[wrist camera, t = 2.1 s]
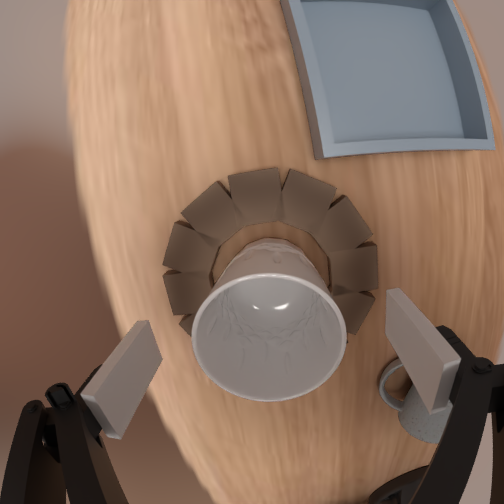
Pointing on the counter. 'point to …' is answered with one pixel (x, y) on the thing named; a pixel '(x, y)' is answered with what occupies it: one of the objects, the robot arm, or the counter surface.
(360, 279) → the holder ring
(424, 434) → the ceramic mug
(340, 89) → the bin
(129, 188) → the counter surface
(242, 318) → the white cup
